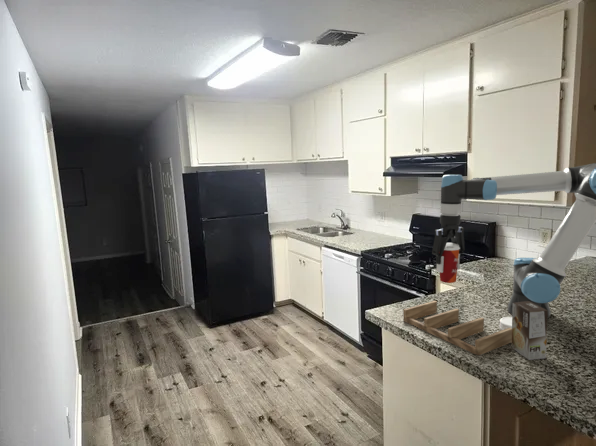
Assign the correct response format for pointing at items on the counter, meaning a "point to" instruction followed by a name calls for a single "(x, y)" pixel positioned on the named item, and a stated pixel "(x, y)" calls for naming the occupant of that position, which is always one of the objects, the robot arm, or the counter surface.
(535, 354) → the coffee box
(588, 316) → the counter surface
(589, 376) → the counter surface
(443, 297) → the counter surface
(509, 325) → the white round dish
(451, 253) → the coffee cup
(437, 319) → the oak rack
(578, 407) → the counter surface
